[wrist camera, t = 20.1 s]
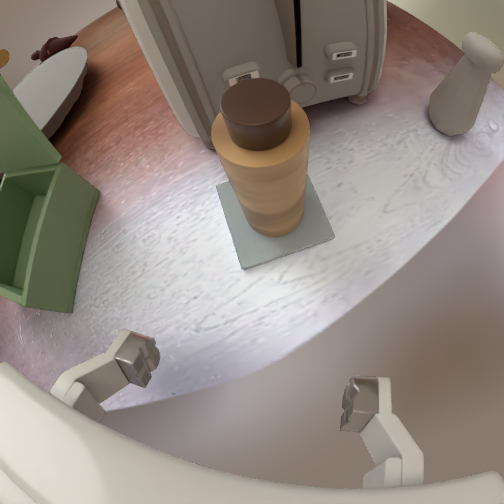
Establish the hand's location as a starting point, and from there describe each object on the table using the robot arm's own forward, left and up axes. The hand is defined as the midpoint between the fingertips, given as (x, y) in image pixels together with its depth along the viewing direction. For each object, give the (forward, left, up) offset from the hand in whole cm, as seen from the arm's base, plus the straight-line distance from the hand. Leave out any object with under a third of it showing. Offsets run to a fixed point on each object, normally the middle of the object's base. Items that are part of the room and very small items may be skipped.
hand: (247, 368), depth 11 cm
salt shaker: (+15, -27, -12) cm, 33 cm away
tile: (+10, -4, -12) cm, 16 cm away
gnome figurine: (+64, +25, -12) cm, 70 cm away
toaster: (+38, -9, -12) cm, 40 cm away
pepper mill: (+10, -4, -11) cm, 16 cm away
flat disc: (+44, +27, -12) cm, 53 cm away
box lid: (+24, +18, +3) cm, 30 cm away
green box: (+17, +21, -12) cm, 30 cm away
